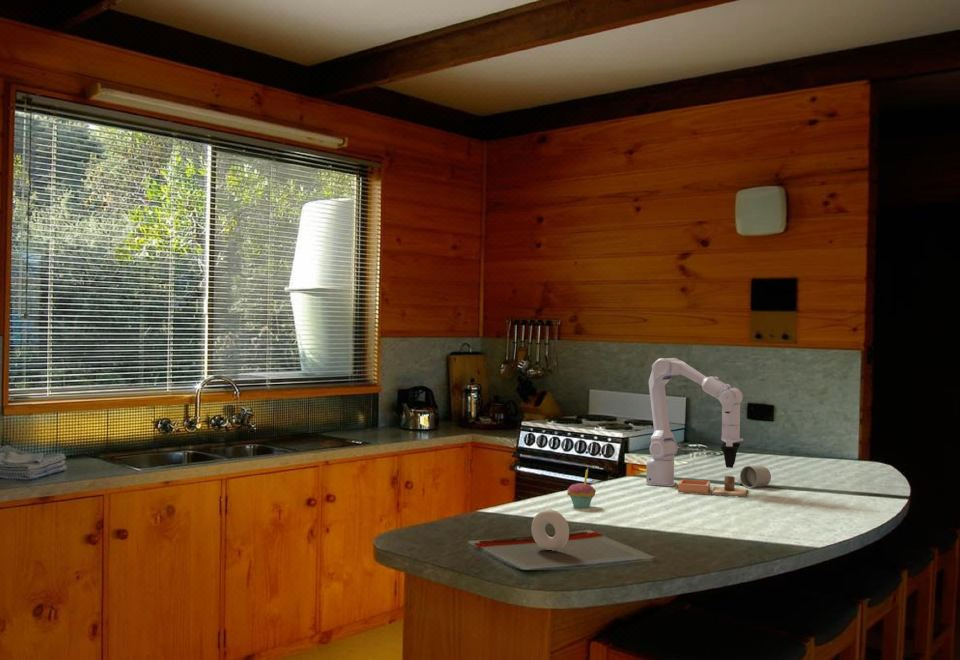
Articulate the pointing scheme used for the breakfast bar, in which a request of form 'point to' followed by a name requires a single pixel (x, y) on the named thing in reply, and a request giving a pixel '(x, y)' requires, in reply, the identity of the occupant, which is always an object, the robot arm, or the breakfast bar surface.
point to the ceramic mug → (754, 476)
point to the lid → (729, 488)
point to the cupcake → (581, 493)
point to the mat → (733, 495)
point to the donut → (559, 525)
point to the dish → (694, 486)
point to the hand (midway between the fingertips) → (730, 465)
